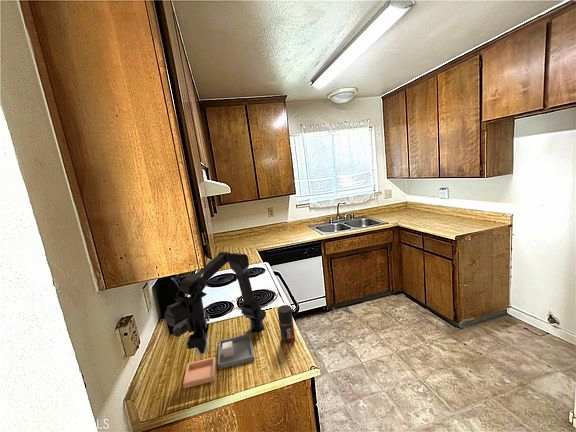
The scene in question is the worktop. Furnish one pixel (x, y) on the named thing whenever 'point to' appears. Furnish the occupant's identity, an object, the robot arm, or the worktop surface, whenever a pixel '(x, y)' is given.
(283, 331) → the deodorant
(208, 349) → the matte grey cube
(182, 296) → the robot arm
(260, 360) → the worktop surface
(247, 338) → the bin
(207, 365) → the dish
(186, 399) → the worktop surface
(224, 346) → the beige cube
